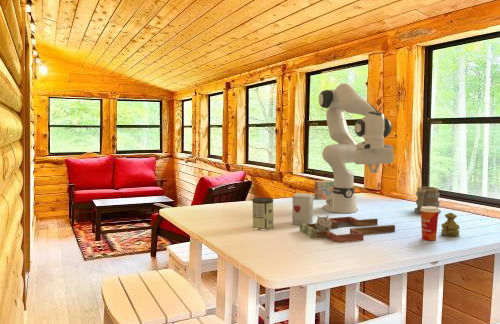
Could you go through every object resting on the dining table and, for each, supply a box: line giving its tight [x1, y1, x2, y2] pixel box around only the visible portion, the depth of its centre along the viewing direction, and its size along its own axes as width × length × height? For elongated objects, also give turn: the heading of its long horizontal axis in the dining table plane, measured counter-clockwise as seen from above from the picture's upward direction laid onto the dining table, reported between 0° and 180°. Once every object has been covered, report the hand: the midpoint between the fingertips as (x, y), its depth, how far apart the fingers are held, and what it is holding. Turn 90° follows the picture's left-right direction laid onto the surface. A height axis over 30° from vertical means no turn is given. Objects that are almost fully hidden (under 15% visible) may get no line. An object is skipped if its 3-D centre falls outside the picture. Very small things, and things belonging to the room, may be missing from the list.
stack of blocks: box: [314, 179, 334, 201], centre depth 288 cm, size 21×6×12 cm, turn 101°
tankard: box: [414, 186, 441, 215], centre depth 238 cm, size 20×13×15 cm, turn 134°
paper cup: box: [420, 206, 440, 242], centre depth 184 cm, size 8×8×14 cm
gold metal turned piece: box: [440, 212, 461, 238], centre depth 191 cm, size 7×7×10 cm
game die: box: [314, 215, 334, 232], centre depth 196 cm, size 9×8×10 cm
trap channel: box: [299, 216, 396, 243], centre depth 199 cm, size 32×42×4 cm
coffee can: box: [251, 197, 274, 230], centre depth 207 cm, size 10×10×14 cm
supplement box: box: [291, 192, 314, 226], centre depth 215 cm, size 9×9×15 cm
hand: (373, 172), depth 209 cm, fingers closed
